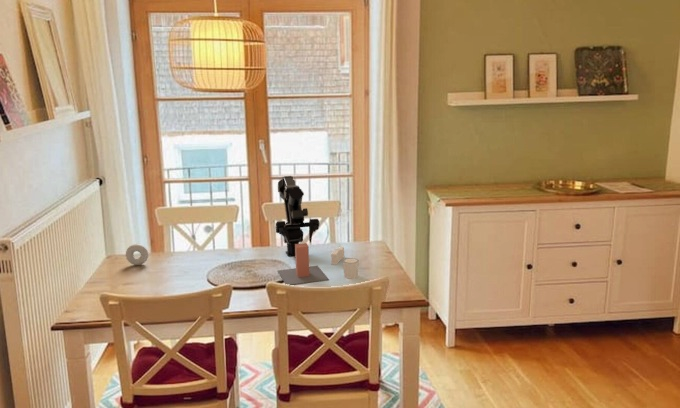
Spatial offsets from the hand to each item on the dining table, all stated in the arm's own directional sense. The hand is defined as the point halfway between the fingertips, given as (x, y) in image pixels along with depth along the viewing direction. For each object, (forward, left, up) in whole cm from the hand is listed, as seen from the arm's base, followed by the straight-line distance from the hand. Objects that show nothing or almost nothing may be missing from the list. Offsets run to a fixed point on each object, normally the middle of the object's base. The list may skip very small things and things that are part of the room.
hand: (299, 242), depth 250 cm
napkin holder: (-8, +20, -14) cm, 26 cm away
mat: (+5, 0, -13) cm, 14 cm away
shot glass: (+13, +19, -13) cm, 26 cm away
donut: (-35, -67, -13) cm, 77 cm away
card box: (+5, 0, -13) cm, 14 cm away
